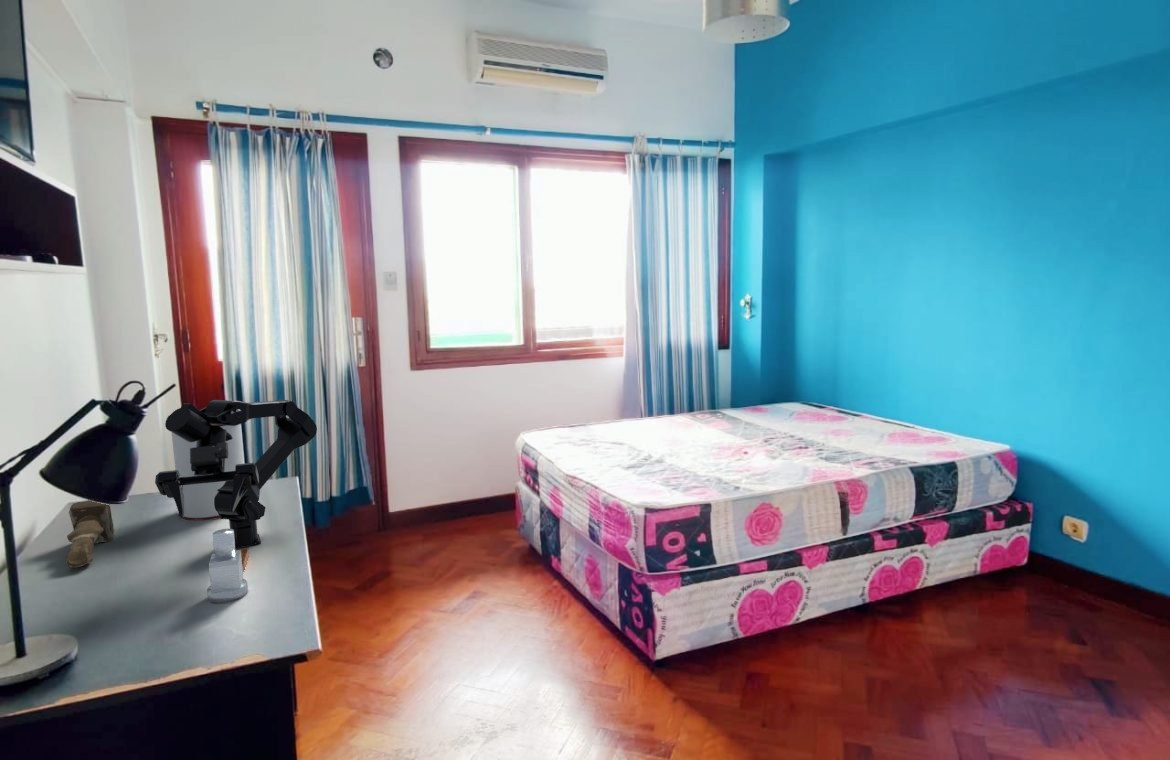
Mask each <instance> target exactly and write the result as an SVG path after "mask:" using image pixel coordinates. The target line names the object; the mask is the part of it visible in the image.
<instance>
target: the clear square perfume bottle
mask: <svg viewBox="0 0 1170 760" xmlns="http://www.w3.org/2000/svg"><path fill="white" fill-rule="evenodd" d="M212 540H213V541H212V542H213V553H211V556H210V560H209V561H208V562H209V563H208V571H209V580H210V581H209V583H210V586H211V593H215V592H222V591H228V590H235V589H240V588H241V584H242V580H243V579H244V573H243V572H242V559H241V550H238V549H236V548H235V540H234V530H233V529H230V528H222V529H218V530H215V531H213V532H212ZM235 550H237V551H235Z"/></svg>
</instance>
